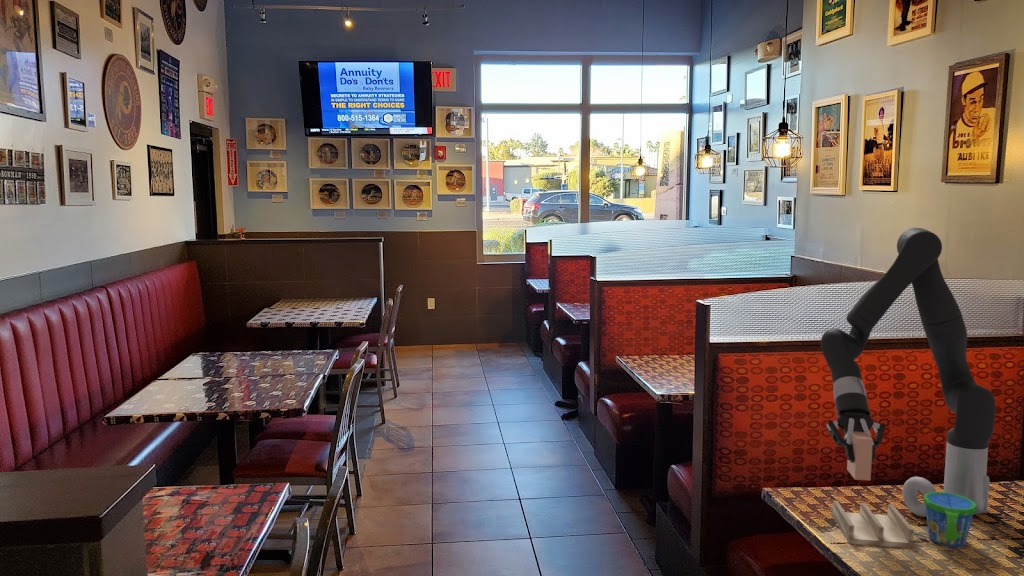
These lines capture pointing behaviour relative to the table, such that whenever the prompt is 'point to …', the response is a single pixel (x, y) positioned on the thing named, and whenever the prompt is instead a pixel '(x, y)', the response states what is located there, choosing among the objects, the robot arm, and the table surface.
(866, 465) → the pink rectangular block
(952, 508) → the snack cup
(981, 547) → the table surface
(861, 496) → the table surface
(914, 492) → the grey ring
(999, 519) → the table surface
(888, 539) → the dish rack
